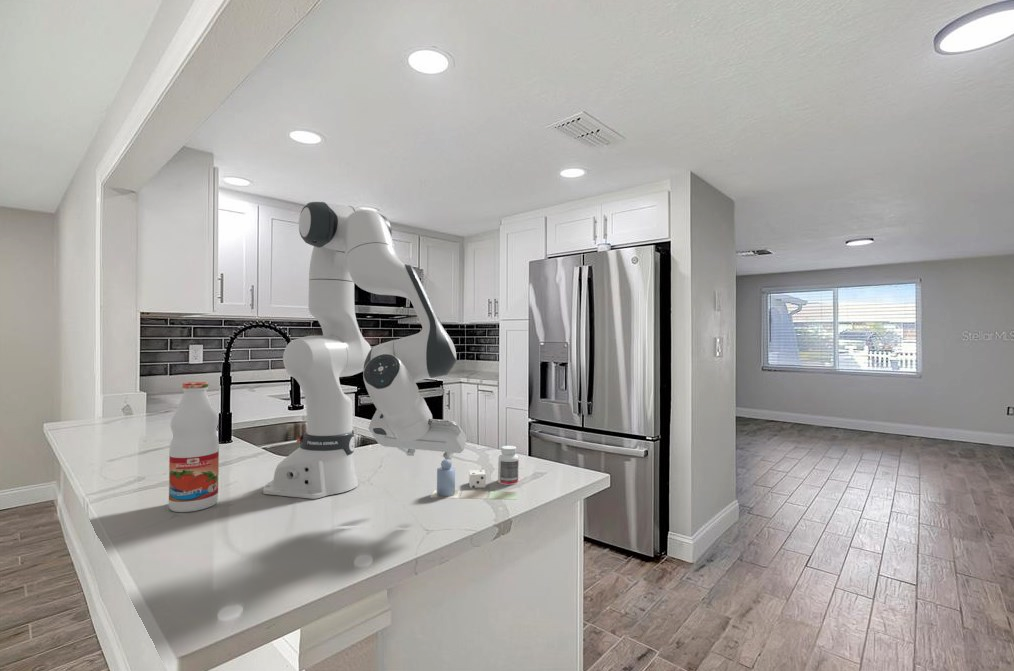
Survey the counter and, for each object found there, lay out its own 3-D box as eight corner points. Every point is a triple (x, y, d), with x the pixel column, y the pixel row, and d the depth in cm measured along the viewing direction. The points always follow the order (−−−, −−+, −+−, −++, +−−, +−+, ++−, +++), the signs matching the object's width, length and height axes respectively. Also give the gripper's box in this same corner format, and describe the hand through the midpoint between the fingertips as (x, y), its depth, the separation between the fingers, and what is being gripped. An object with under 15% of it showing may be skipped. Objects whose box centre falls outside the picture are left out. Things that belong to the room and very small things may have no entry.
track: (426, 500, 113) (426, 497, 113) (430, 491, 119) (430, 489, 119) (520, 502, 112) (520, 499, 112) (520, 493, 118) (520, 491, 118)
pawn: (435, 496, 114) (435, 461, 114) (438, 490, 118) (439, 456, 118) (453, 496, 114) (453, 461, 114) (456, 491, 118) (456, 457, 118)
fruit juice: (221, 496, 114) (222, 380, 114) (214, 509, 105) (216, 384, 105) (174, 501, 110) (175, 381, 110) (163, 515, 101) (165, 385, 101)
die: (469, 490, 121) (470, 474, 121) (469, 485, 125) (469, 470, 125) (485, 489, 121) (485, 474, 121) (484, 484, 125) (484, 469, 125)
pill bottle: (522, 484, 126) (522, 448, 126) (505, 488, 123) (505, 450, 123) (510, 479, 130) (511, 444, 130) (494, 482, 127) (494, 446, 127)
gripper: (460, 409, 97) (476, 446, 106) (373, 404, 103) (396, 439, 112) (451, 435, 93) (469, 471, 102) (361, 428, 99) (385, 463, 108)
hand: (430, 454), depth 107 cm, fingers open, 8 cm apart
